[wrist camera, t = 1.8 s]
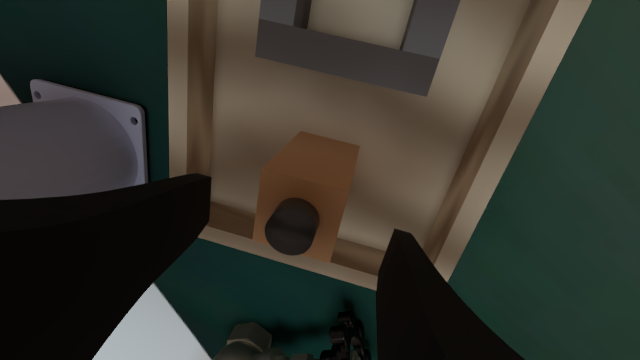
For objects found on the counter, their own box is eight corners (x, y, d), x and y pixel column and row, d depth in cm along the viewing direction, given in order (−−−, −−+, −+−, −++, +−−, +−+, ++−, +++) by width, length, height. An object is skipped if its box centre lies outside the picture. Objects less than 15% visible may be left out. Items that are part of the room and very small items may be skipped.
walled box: (425, 266, 20) (434, 307, 16) (202, 202, 21) (170, 228, 18) (609, -135, 11) (699, -210, 8) (217, -197, 13) (163, -280, 9)
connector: (345, 199, 18) (324, 283, 11) (291, 184, 18) (239, 258, 11) (359, 146, 16) (345, 207, 10) (300, 131, 17) (248, 180, 10)
